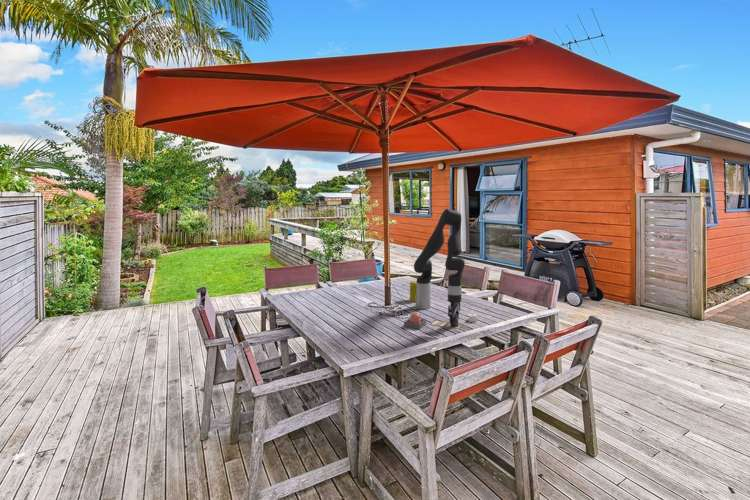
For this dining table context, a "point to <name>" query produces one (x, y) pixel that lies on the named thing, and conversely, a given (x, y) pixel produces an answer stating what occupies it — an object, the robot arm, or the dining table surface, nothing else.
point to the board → (445, 324)
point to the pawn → (455, 321)
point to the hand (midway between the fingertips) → (454, 321)
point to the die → (472, 318)
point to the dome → (415, 318)
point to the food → (413, 290)
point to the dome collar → (415, 324)
